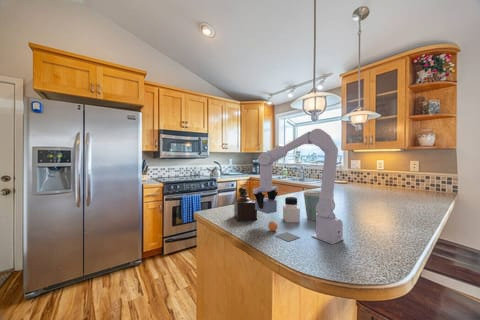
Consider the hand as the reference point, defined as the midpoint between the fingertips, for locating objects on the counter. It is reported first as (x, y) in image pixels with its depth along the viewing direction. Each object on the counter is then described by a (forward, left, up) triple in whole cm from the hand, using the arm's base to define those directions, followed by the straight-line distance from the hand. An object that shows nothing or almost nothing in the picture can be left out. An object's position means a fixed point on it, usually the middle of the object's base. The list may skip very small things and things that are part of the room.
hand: (265, 207), depth 95 cm
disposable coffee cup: (-6, -29, -9) cm, 31 cm away
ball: (-6, +1, -7) cm, 9 cm away
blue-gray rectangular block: (0, 0, -2) cm, 2 cm away
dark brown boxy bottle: (+14, +1, -9) cm, 17 cm away
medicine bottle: (-1, -17, -9) cm, 19 cm away
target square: (-15, +1, -9) cm, 17 cm away
